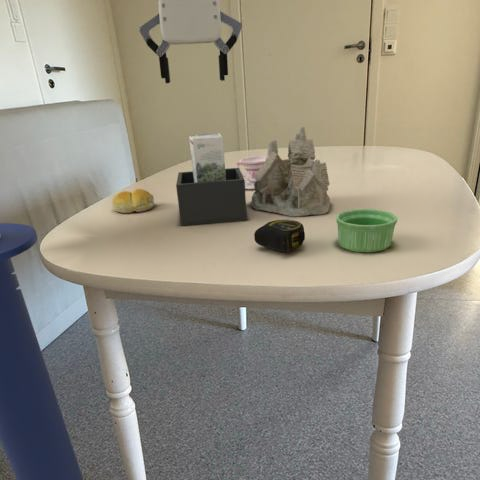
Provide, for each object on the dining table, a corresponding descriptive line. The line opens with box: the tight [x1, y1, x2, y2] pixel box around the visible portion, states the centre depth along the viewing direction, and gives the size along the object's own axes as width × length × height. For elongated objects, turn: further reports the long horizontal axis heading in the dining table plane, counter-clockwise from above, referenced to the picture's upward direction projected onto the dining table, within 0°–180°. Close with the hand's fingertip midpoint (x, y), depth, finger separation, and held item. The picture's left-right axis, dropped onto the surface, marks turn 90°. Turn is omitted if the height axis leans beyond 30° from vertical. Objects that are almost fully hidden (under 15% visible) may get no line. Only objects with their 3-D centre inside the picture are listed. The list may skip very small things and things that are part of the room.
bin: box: [175, 167, 248, 226], centre depth 89 cm, size 13×13×8 cm
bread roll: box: [111, 188, 155, 214], centre depth 98 cm, size 8×9×4 cm
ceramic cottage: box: [250, 126, 331, 217], centre depth 89 cm, size 16×16×15 cm
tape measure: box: [253, 219, 306, 253], centre depth 70 cm, size 7×7×4 cm
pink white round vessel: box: [236, 155, 268, 190], centre depth 111 cm, size 12×12×6 cm
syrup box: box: [188, 132, 226, 183], centre depth 87 cm, size 6×6×14 cm
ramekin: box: [335, 208, 398, 253], centre depth 69 cm, size 9×9×4 cm
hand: (195, 81), depth 79 cm, fingers open, 9 cm apart
